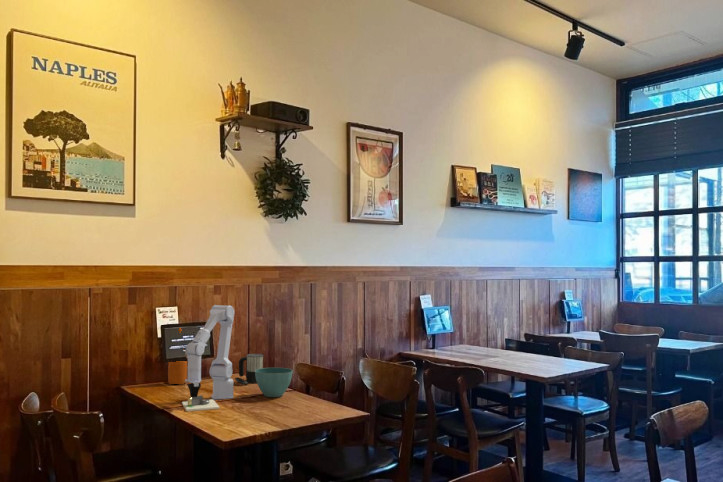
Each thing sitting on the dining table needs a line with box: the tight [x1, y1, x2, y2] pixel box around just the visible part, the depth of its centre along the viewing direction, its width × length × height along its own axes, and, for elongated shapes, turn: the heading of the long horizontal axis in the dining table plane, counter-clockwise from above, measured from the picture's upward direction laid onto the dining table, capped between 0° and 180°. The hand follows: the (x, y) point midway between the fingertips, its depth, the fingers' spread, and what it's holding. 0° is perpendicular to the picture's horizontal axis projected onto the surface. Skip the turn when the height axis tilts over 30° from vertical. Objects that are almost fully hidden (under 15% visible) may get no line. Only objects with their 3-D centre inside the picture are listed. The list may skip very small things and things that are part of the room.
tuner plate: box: [181, 398, 220, 412], centre depth 269 cm, size 14×17×1 cm
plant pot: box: [255, 367, 294, 398], centre depth 293 cm, size 18×18×12 cm
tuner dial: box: [187, 394, 210, 406], centre depth 268 cm, size 11×5×3 cm, turn 142°
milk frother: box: [234, 353, 264, 386], centre depth 326 cm, size 14×16×15 cm
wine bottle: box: [167, 327, 188, 385], centre depth 323 cm, size 10×10×30 cm
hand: (193, 400), depth 269 cm, fingers closed
